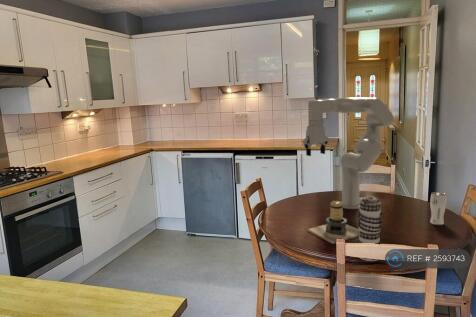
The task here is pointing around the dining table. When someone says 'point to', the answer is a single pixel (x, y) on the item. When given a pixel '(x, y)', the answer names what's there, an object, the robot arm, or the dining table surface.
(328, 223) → the ring
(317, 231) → the board
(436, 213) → the beer glass
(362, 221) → the decorative candle
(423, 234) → the dining table surface
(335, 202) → the gold cylinder
